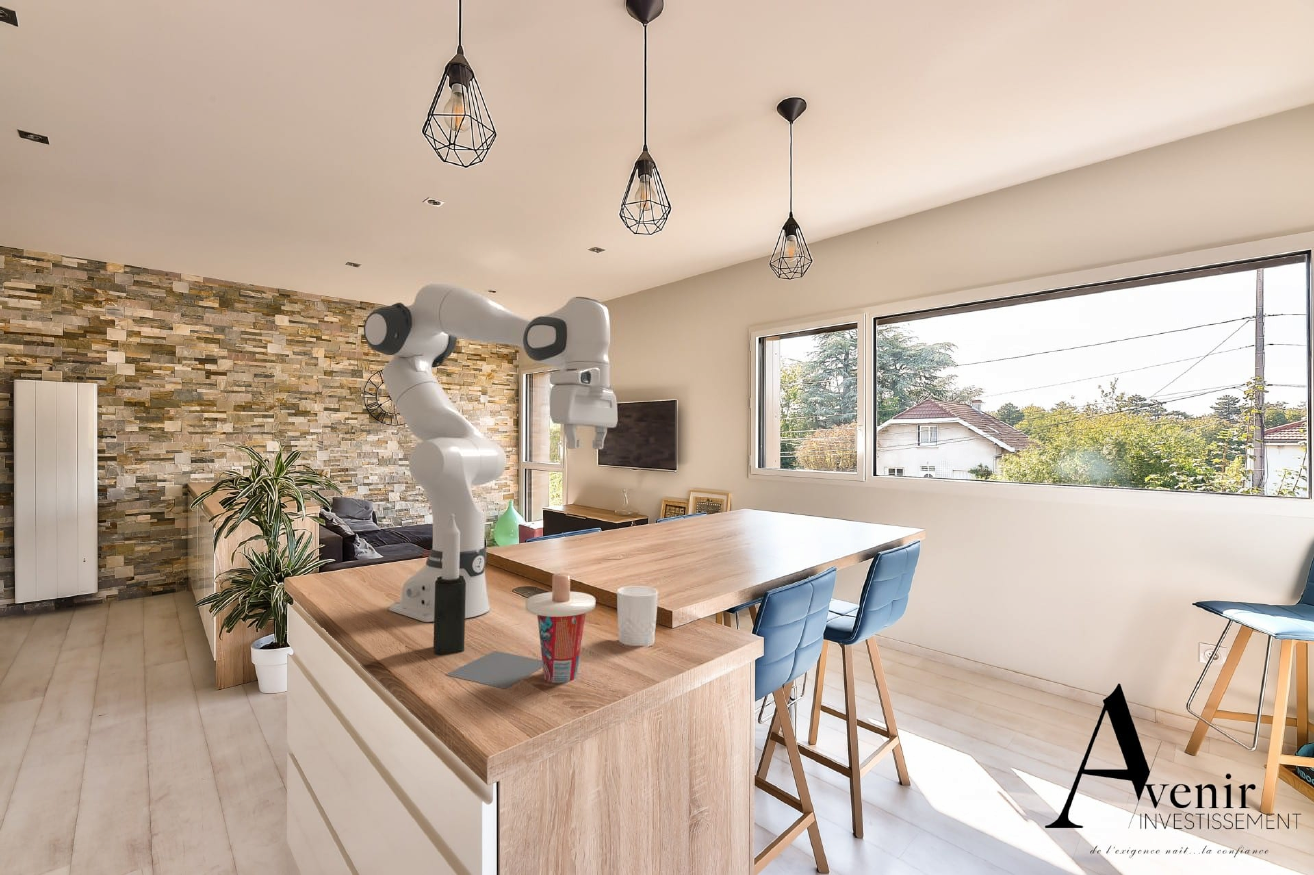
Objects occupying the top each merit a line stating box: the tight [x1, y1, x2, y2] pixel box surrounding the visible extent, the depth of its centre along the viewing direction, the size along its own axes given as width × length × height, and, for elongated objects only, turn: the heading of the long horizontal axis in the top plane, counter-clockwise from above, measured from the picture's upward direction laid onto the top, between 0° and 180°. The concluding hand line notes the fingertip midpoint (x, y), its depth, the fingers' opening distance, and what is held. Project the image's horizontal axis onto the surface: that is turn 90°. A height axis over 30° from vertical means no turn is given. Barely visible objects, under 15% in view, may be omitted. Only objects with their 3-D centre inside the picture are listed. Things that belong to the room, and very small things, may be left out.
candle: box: [432, 514, 466, 656], centre depth 103 cm, size 5×5×25 cm
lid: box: [525, 572, 596, 617], centre depth 91 cm, size 11×11×5 cm
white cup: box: [616, 585, 659, 648], centre depth 109 cm, size 8×8×10 cm
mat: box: [445, 650, 543, 690], centre depth 94 cm, size 12×12×1 cm
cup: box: [537, 613, 587, 684], centre depth 91 cm, size 9×8×12 cm
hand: (585, 449), depth 113 cm, fingers open, 8 cm apart
